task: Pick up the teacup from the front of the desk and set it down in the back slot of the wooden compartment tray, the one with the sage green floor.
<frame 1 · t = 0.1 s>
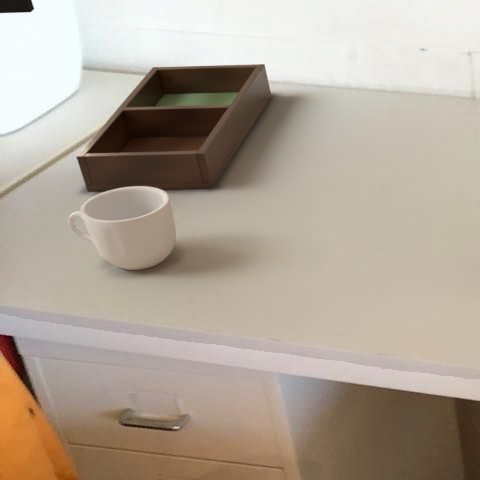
teacup: (131, 260, 121), on the table
wooden compartment tray: (185, 140, 142), on the table
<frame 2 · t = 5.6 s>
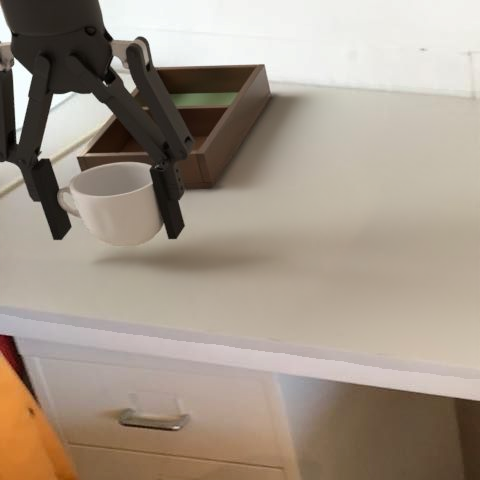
hand: (119, 233, 119), 3 cm above the table, tool pointing down, fingers closed on teacup, 10 cm apart
teacup: (121, 237, 120), point 2 cm above the table, touching gripper
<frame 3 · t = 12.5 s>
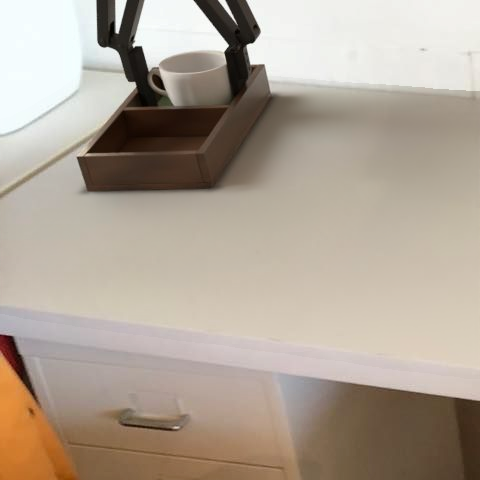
hand: (197, 109, 146), 1 cm above the table, tool pointing down, fingers closed on teacup, 10 cm apart
teacup: (198, 112, 146), point 1 cm above the table, touching gripper
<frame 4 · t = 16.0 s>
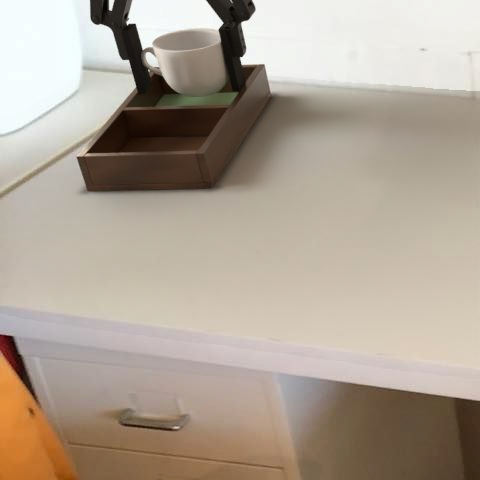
hand: (192, 87, 144), 3 cm above the table, tool pointing down, fingers closed on teacup, 10 cm apart
teacup: (193, 91, 144), point 3 cm above the table, touching gripper
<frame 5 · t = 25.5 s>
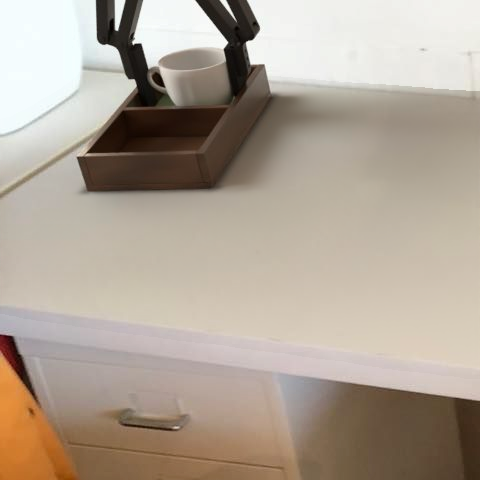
hand: (197, 106, 145), 1 cm above the table, tool pointing down, fingers closed on teacup, 10 cm apart
teacup: (198, 110, 146), point 1 cm above the table, touching gripper
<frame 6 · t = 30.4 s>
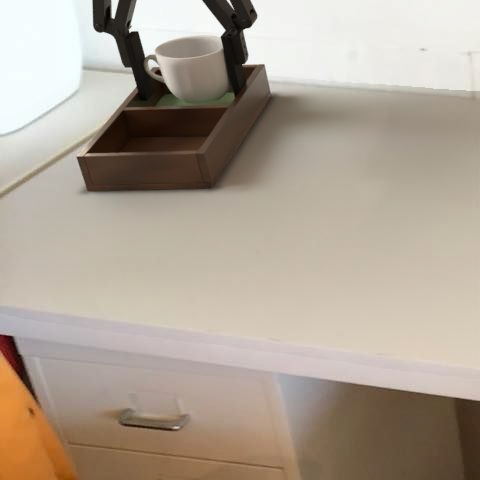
hand: (194, 94, 145), 3 cm above the table, tool pointing down, fingers closed on teacup, 10 cm apart
teacup: (195, 98, 145), point 2 cm above the table, touching gripper
when the fingers open (4 cm above the table, at t = 34.9 s): teacup drops 3 cm, resting on wooden compartment tray.
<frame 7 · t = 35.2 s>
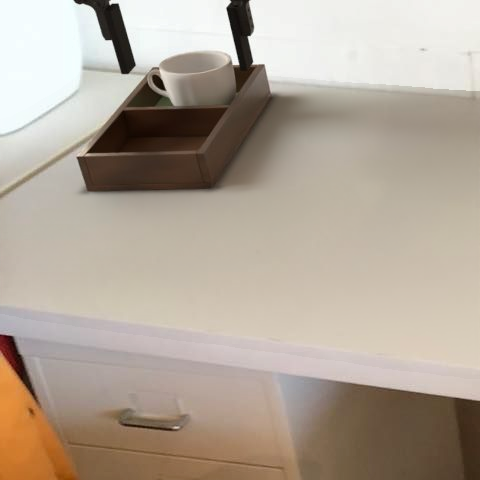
hand: (187, 68, 143), 6 cm above the table, tool pointing down, fingers open, 13 cm apart
teacup: (198, 113, 146), point 1 cm above the table, touching wooden compartment tray
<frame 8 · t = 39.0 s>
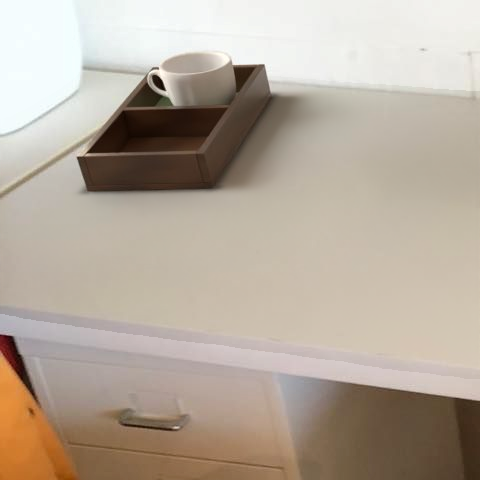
nothing on the table moved.
at the end: teacup inside the target area in the wooden compartment tray (0.1 cm from its centre), point 0.6 cm above the wooden compartment tray's base; teacup tilted 0°; the gripper is holding nothing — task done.
